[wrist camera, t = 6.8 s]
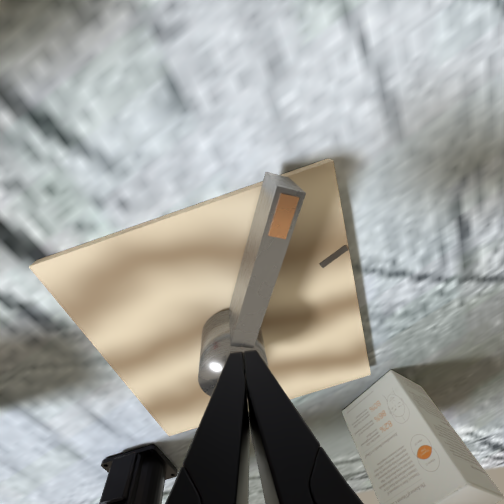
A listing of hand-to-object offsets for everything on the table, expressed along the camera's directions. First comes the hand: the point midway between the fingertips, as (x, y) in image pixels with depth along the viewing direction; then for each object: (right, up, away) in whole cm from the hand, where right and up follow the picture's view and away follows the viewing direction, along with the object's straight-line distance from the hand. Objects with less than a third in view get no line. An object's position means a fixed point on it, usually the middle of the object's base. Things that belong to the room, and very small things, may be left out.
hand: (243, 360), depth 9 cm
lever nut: (0, 0, +13) cm, 13 cm away
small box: (+15, -13, +23) cm, 30 cm away
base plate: (-2, -3, +16) cm, 16 cm away
